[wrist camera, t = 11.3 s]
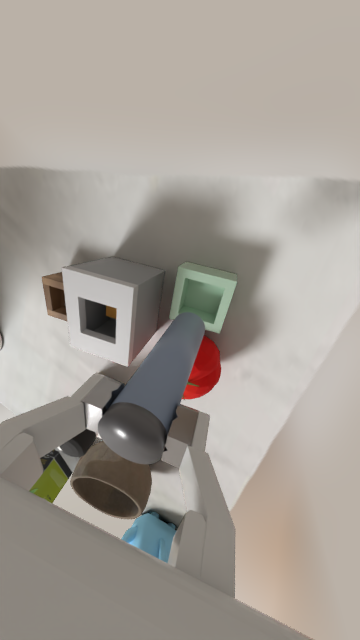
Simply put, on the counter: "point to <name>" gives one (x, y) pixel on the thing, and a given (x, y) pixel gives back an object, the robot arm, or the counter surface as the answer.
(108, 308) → the button
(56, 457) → the tea box
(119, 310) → the grey hollow block
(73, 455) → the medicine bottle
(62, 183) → the counter surface
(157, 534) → the teapot
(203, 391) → the tomato
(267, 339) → the counter surface
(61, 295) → the holder
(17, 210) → the counter surface
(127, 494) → the bowl
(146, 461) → the grey rod
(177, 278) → the rest socket
